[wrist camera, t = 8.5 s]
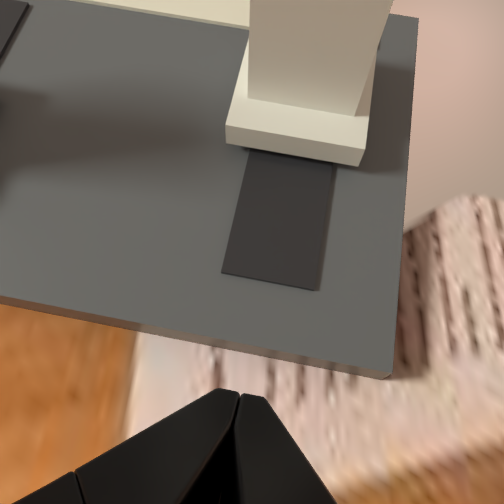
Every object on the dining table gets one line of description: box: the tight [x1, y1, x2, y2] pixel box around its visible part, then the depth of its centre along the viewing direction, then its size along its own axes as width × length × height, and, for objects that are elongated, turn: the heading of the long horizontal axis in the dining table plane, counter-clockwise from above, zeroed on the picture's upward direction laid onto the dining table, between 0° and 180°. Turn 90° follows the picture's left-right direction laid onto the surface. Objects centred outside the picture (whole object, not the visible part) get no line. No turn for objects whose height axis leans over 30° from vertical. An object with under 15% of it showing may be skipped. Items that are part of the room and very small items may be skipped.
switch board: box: [0, 0, 419, 380], centre depth 22 cm, size 18×26×2 cm
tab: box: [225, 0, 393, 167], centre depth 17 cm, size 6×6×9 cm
